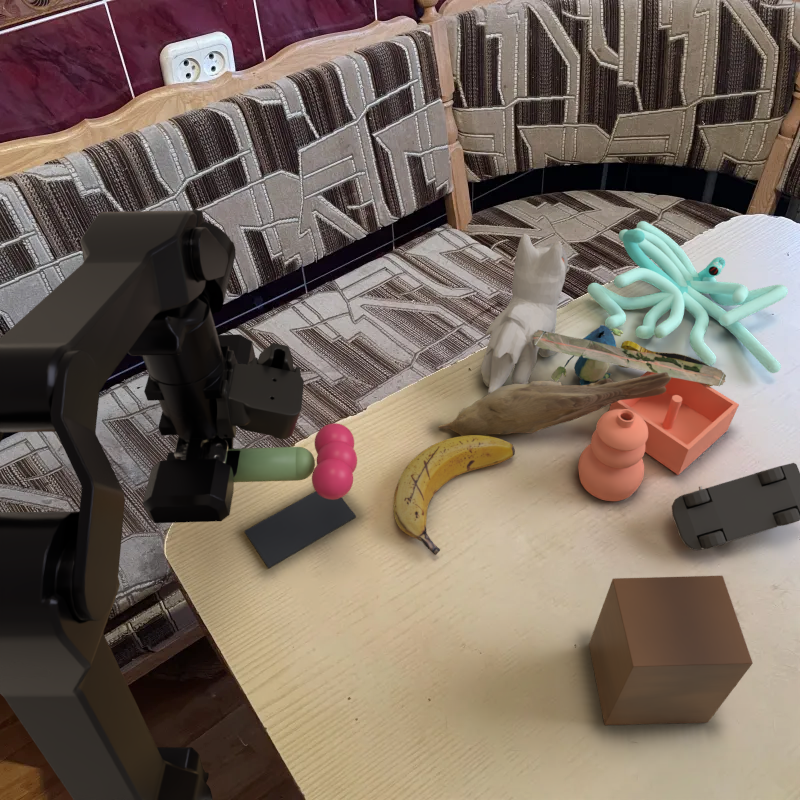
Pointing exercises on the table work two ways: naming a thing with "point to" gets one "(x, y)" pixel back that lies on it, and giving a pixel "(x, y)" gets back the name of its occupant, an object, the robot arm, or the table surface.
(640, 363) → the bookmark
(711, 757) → the table surface
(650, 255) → the tentacled creature figurine
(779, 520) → the toy car
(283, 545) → the placemat
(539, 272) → the toy
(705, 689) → the block
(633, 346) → the decorative item
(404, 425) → the table surface
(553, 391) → the sculpture
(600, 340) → the toy figurine
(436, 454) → the fruit
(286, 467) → the green pink knobbed rod
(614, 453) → the pottery
